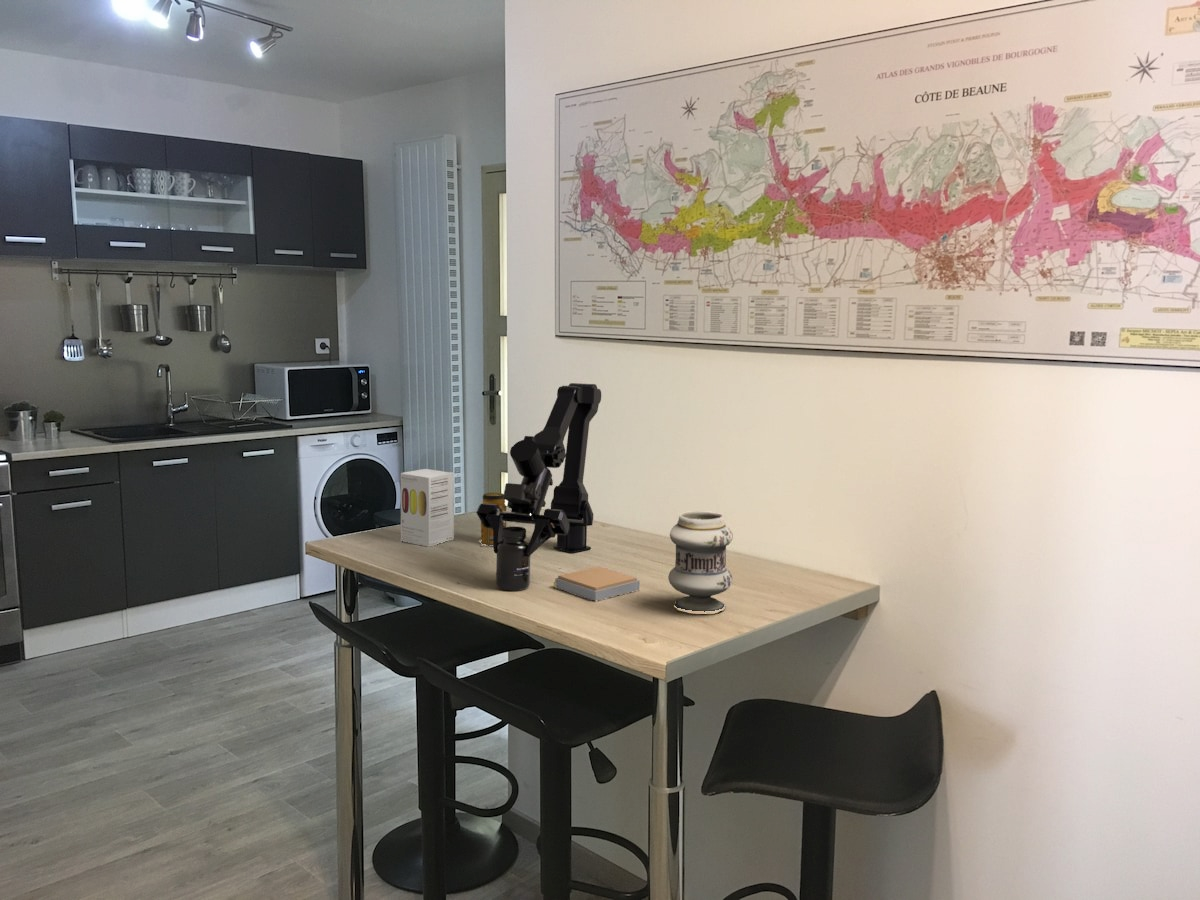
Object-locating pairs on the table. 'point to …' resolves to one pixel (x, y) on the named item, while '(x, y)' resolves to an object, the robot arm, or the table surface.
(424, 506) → the supplement box
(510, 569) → the supplement bottle
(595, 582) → the note pad
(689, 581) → the apothecary jar
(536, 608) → the table surface
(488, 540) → the condiment
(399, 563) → the table surface
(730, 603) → the table surface
